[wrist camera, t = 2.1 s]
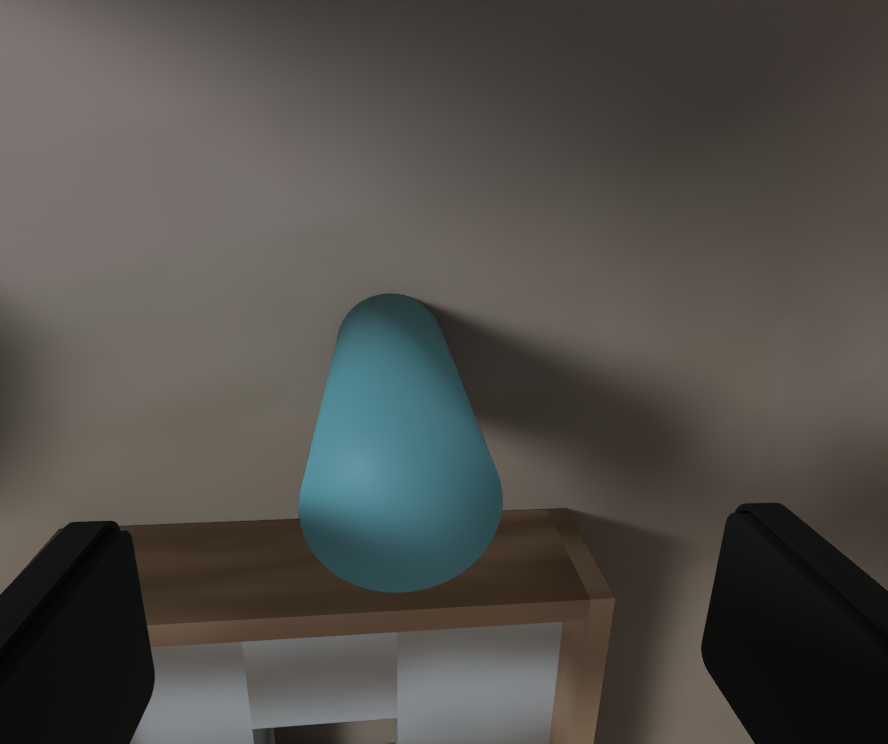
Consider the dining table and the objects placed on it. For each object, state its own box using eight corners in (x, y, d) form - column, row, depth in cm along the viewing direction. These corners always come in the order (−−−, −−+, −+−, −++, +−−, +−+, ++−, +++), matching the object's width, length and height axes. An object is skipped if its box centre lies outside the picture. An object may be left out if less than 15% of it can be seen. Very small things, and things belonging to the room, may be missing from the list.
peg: (334, 293, 19) (291, 419, 9) (444, 293, 19) (508, 414, 10) (339, 395, 20) (304, 598, 11) (442, 394, 20) (496, 587, 11)
